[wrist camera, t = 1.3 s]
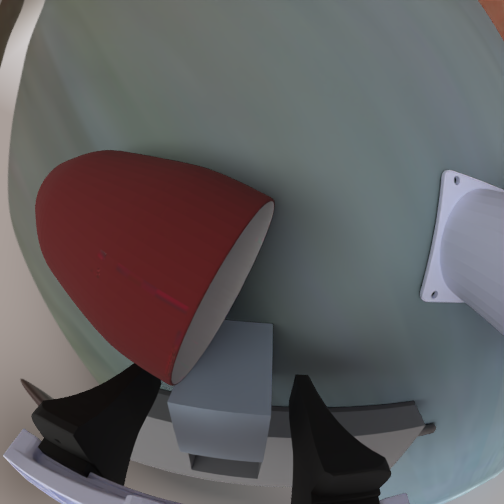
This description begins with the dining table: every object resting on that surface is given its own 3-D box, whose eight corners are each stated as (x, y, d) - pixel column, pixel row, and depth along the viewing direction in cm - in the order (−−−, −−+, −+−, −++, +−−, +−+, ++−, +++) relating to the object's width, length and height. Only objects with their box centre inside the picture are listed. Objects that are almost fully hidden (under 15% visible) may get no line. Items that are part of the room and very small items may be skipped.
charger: (272, 323, 15) (271, 415, 9) (267, 376, 17) (262, 464, 10) (205, 317, 16) (167, 401, 9) (207, 370, 17) (180, 453, 10)
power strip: (454, 393, 17) (470, 418, 13) (414, 449, 19) (423, 472, 16) (120, 378, 18) (100, 407, 15) (139, 438, 20) (128, 464, 17)
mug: (126, 229, 19) (243, 295, 18) (55, 308, 14) (179, 402, 13) (110, 96, 11) (294, 159, 10) (-24, 184, 6) (154, 354, 5)
